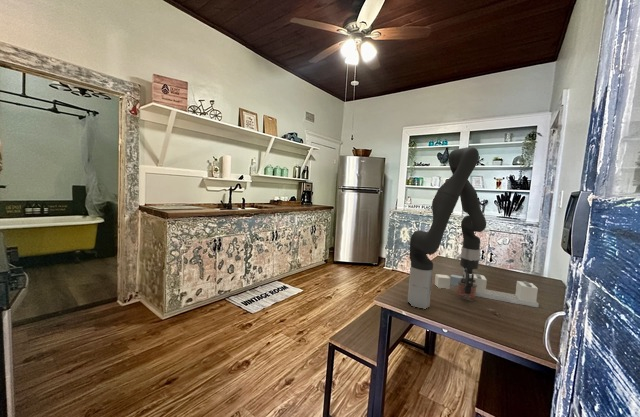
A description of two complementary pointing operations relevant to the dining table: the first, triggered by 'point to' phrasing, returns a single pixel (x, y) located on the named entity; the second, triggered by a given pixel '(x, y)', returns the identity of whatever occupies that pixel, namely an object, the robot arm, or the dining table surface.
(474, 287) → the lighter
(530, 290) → the mounted modules
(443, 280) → the block
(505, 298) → the rail
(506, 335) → the dining table surface
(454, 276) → the block
